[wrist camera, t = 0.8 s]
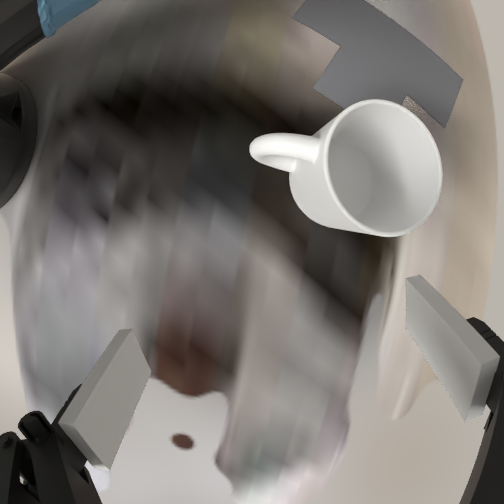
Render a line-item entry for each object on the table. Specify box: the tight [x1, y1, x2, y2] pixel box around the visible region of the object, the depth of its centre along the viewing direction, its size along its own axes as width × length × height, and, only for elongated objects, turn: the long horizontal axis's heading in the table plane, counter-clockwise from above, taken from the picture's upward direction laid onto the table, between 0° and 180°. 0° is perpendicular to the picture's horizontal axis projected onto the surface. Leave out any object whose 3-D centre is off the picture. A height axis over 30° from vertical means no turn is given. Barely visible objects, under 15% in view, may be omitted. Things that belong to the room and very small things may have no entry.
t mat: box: [292, 0, 463, 128], centre depth 26 cm, size 19×14×1 cm
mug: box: [250, 99, 443, 237], centre depth 22 cm, size 12×8×10 cm
